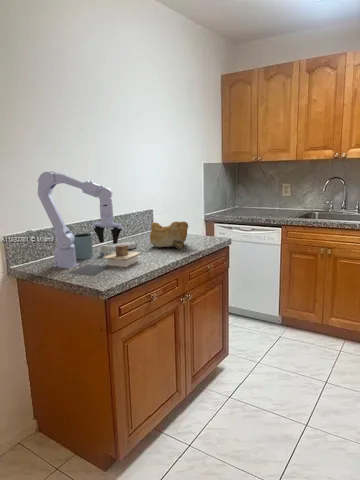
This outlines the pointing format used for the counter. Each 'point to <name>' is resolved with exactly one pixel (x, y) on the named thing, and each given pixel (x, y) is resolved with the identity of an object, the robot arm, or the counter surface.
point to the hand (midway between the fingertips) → (108, 243)
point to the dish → (122, 262)
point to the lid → (121, 253)
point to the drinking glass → (83, 245)
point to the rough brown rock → (169, 235)
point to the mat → (90, 270)
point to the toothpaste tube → (108, 248)
